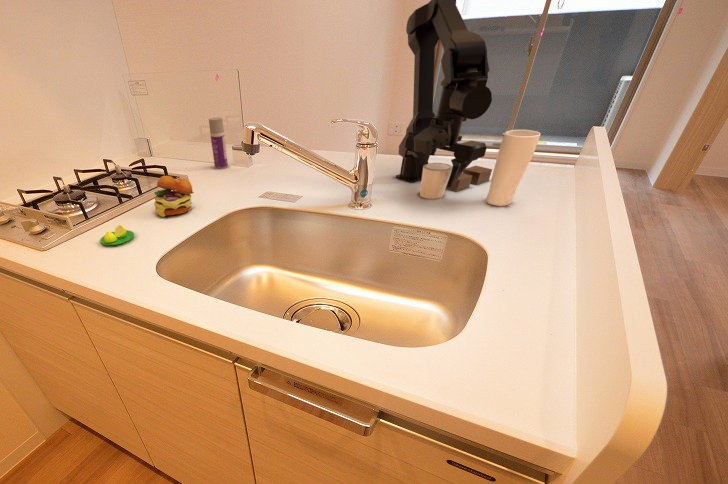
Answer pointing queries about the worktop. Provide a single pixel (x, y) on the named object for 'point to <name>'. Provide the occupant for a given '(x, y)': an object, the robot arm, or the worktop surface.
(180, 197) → the cheeseburger
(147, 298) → the worktop surface
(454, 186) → the walnut block near
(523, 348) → the worktop surface
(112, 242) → the lemon
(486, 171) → the walnut block far
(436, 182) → the cream cup
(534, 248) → the worktop surface
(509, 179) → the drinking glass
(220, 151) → the container
